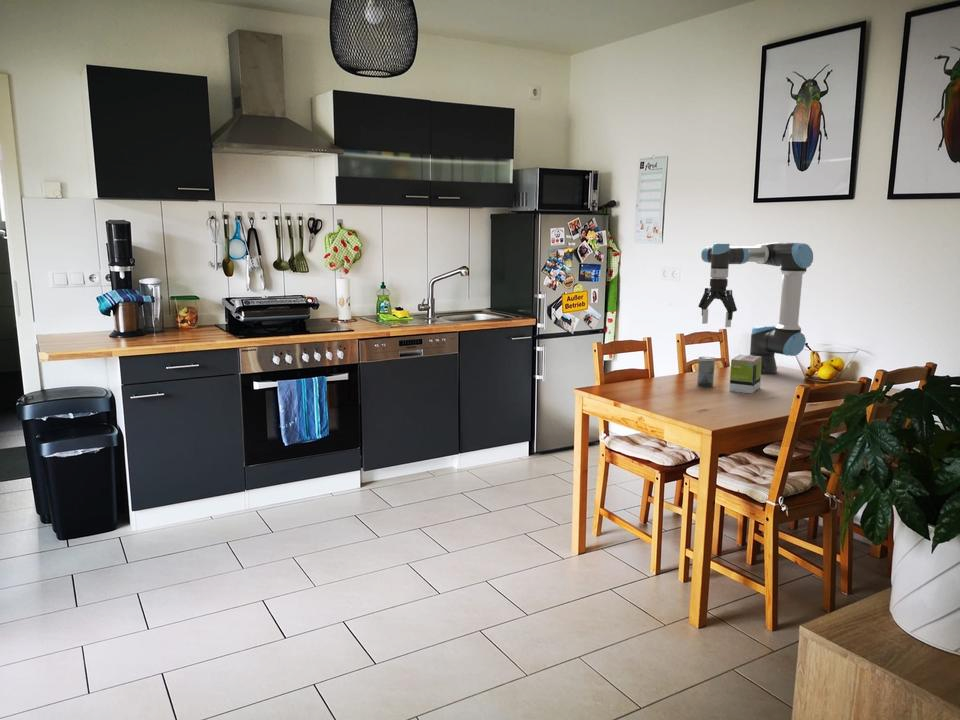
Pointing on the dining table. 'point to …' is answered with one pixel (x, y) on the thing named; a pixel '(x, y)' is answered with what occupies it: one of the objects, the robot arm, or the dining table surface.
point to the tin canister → (706, 371)
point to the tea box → (745, 373)
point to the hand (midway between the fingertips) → (716, 325)
